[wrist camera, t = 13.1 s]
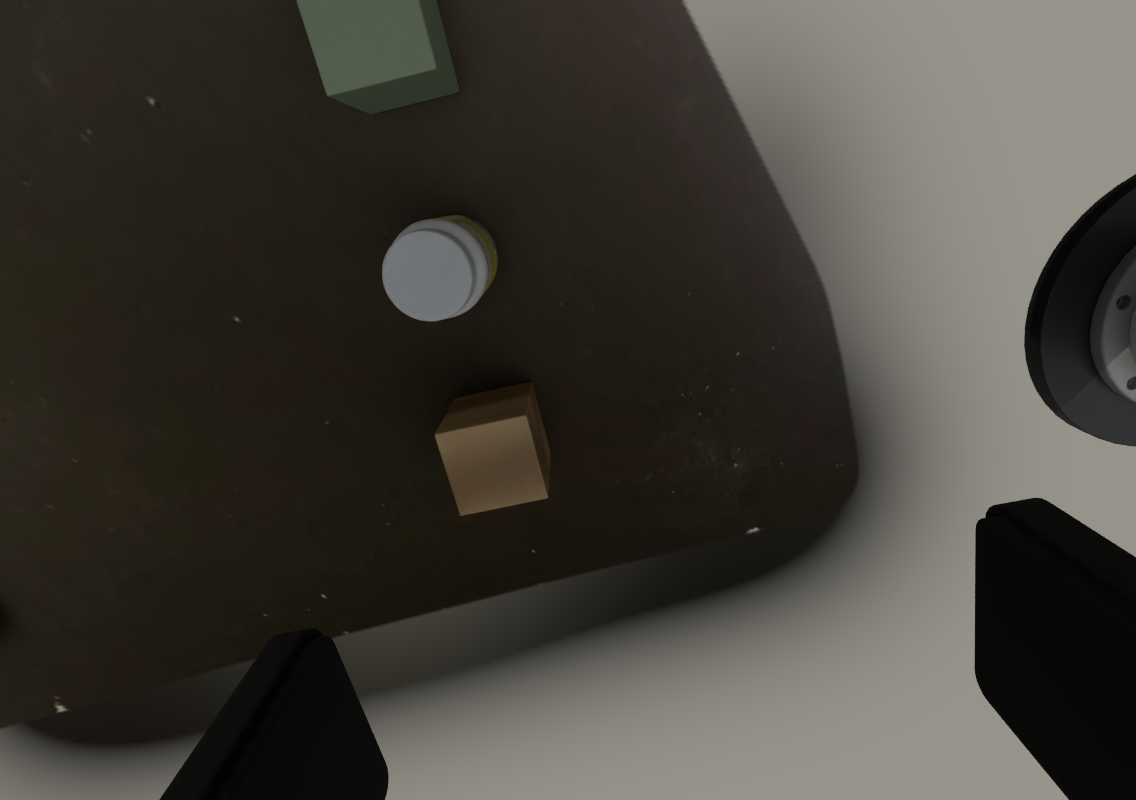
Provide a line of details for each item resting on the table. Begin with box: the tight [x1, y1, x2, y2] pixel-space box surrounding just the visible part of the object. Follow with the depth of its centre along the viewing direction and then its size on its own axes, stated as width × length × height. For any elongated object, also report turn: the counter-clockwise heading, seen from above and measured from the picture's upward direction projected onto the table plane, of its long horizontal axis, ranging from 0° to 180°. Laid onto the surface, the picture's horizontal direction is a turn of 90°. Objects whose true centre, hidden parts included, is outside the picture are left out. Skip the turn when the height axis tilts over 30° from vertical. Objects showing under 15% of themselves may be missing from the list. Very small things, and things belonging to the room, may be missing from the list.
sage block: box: [296, 0, 459, 114], centre depth 27 cm, size 5×5×6 cm
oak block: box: [435, 382, 550, 516], centre depth 34 cm, size 5×5×6 cm
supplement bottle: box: [382, 215, 499, 321], centre depth 30 cm, size 5×5×8 cm
